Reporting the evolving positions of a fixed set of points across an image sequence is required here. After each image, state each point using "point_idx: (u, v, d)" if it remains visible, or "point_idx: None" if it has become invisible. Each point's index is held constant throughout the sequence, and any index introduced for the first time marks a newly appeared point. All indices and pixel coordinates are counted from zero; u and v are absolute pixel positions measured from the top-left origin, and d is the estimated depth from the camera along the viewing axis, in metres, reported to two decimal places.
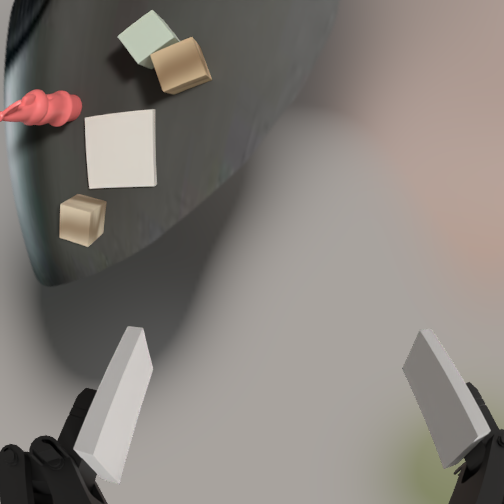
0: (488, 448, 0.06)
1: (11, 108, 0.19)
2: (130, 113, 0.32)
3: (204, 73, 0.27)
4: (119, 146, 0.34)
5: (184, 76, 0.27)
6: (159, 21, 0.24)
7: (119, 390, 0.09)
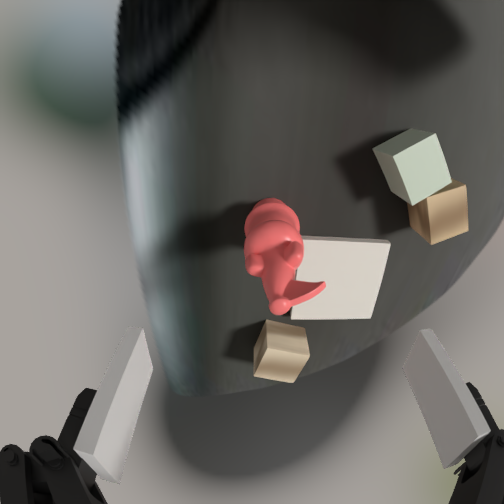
0: (489, 448, 0.06)
1: (311, 297, 0.17)
2: (365, 244, 0.30)
3: (467, 229, 0.25)
4: (343, 279, 0.32)
5: (452, 230, 0.25)
6: (441, 154, 0.22)
7: (119, 390, 0.09)
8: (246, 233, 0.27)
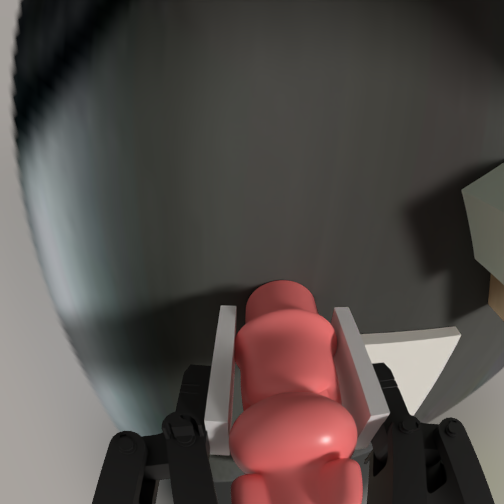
0: (390, 439, 0.08)
1: None
2: (428, 342, 0.17)
3: None
4: None
5: None
6: None
7: (232, 361, 0.11)
8: (236, 361, 0.13)
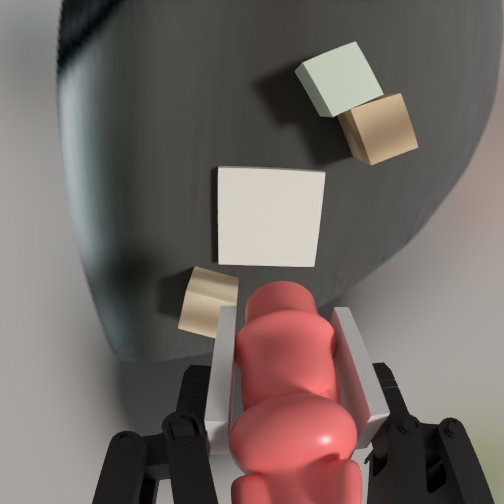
0: (390, 439, 0.08)
1: None
2: (293, 173, 0.27)
3: (416, 145, 0.22)
4: (272, 215, 0.29)
5: (395, 146, 0.22)
6: (365, 63, 0.19)
7: (232, 361, 0.11)
8: (236, 362, 0.13)
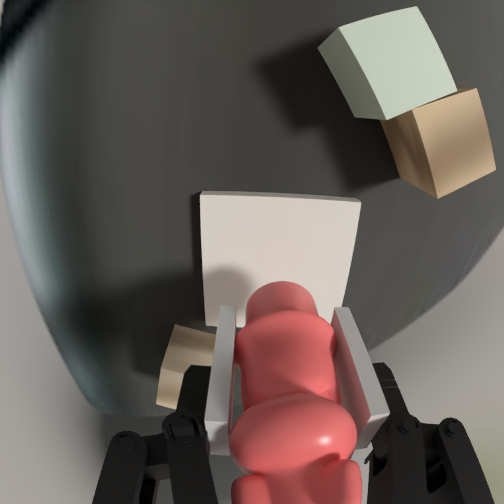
0: (390, 439, 0.08)
1: None
2: (314, 203, 0.18)
3: (493, 166, 0.13)
4: (282, 263, 0.20)
5: (470, 169, 0.13)
6: (432, 41, 0.10)
7: (232, 361, 0.11)
8: (236, 362, 0.13)
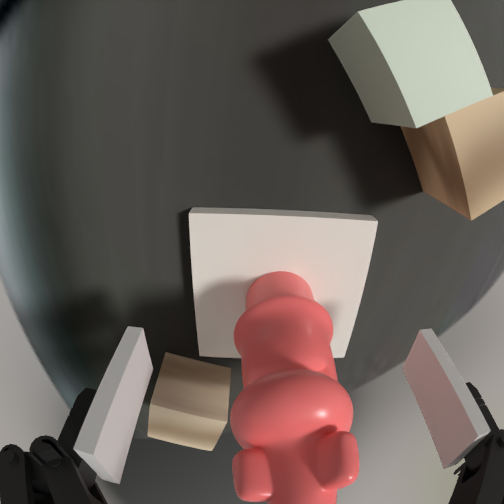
0: (488, 448, 0.06)
1: None
2: (324, 222, 0.15)
3: None
4: None
5: None
6: (466, 35, 0.07)
7: (119, 390, 0.09)
8: (237, 347, 0.14)
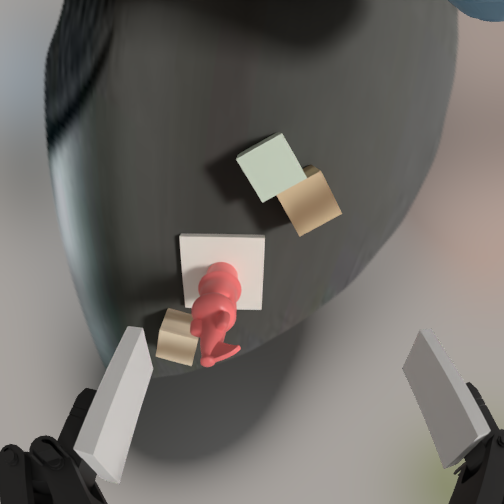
0: (488, 448, 0.06)
1: (229, 356, 0.24)
2: (238, 239, 0.35)
3: (340, 212, 0.30)
4: None
5: (320, 217, 0.30)
6: (290, 153, 0.27)
7: (119, 390, 0.09)
8: (199, 293, 0.34)
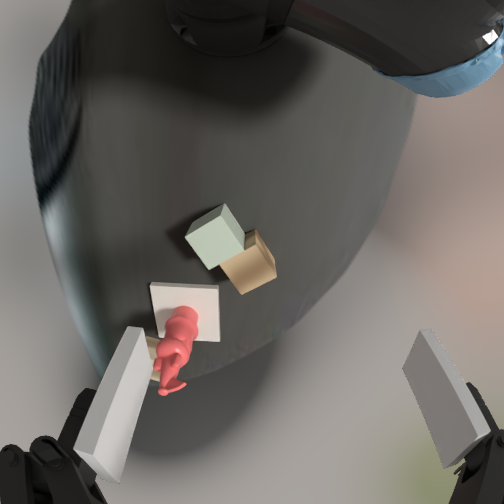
0: (488, 448, 0.06)
1: (177, 389, 0.31)
2: (196, 289, 0.42)
3: (275, 276, 0.36)
4: None
5: (257, 280, 0.37)
6: (229, 231, 0.34)
7: (119, 390, 0.09)
8: None
